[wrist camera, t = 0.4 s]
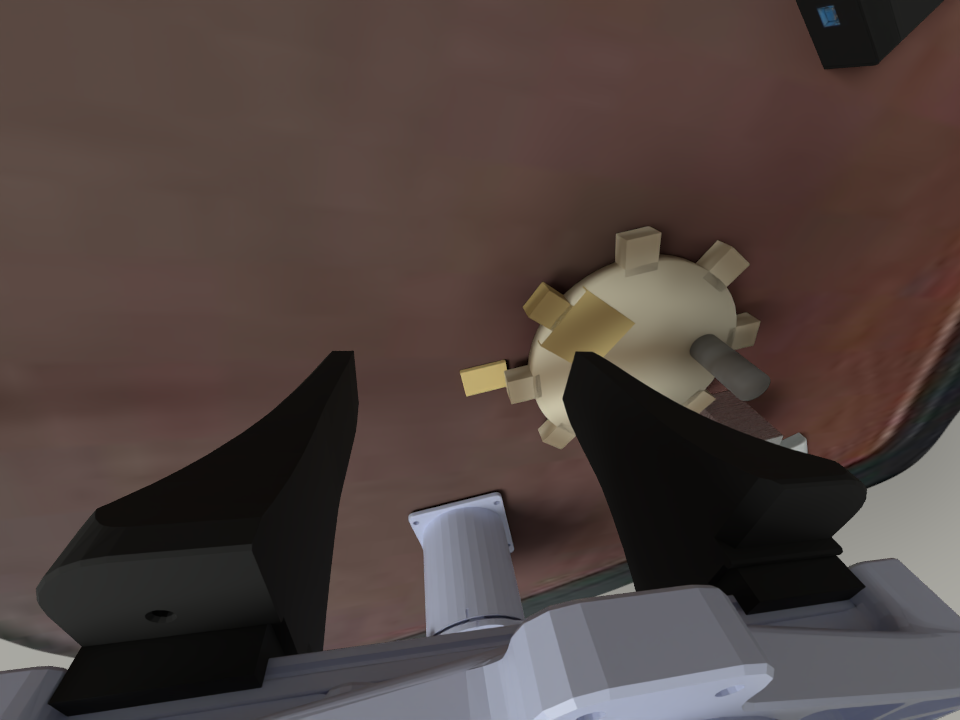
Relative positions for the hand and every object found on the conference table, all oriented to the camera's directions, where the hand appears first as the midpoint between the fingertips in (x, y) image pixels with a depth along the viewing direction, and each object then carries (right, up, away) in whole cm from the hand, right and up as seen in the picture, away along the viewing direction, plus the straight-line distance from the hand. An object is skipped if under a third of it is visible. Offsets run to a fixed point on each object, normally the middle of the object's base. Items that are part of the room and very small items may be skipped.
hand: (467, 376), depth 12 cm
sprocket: (+10, +2, +13) cm, 16 cm away
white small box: (+19, -4, +18) cm, 27 cm away
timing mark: (+1, -1, +13) cm, 13 cm away
